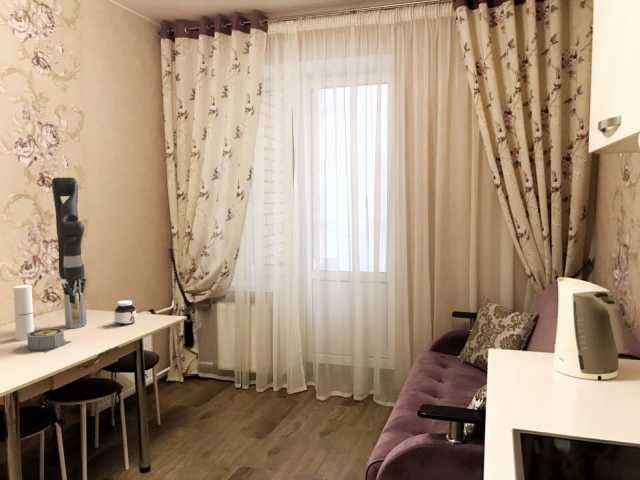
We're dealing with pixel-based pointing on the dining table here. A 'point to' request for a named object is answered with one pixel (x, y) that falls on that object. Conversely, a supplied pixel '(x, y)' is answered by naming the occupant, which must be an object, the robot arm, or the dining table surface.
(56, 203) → the robot arm
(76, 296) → the wick
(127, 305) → the spread jar
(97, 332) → the dining table surface
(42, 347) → the grey octagonal bowl
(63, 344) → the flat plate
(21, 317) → the cylindrical container
